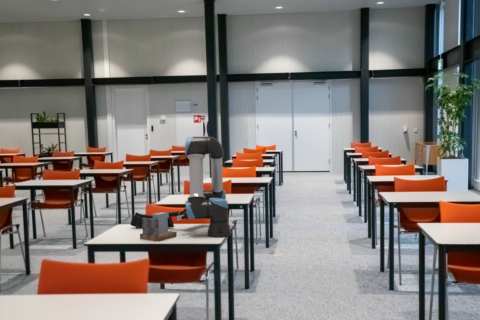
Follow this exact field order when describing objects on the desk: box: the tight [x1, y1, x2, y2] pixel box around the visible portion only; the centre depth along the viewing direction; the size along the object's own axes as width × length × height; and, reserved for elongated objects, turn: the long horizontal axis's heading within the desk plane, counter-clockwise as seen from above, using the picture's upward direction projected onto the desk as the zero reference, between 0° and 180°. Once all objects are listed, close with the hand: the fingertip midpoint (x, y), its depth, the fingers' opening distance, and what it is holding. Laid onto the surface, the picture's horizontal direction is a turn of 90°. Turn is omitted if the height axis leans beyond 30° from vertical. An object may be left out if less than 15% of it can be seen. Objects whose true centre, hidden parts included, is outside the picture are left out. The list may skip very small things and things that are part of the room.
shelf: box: [139, 218, 178, 242], centre depth 327 cm, size 16×16×13 cm
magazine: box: [130, 212, 175, 229], centre depth 358 cm, size 17×3×30 cm
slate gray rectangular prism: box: [152, 212, 169, 234], centre depth 328 cm, size 5×8×12 cm, turn 145°
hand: (169, 217), depth 335 cm, fingers open, 13 cm apart
